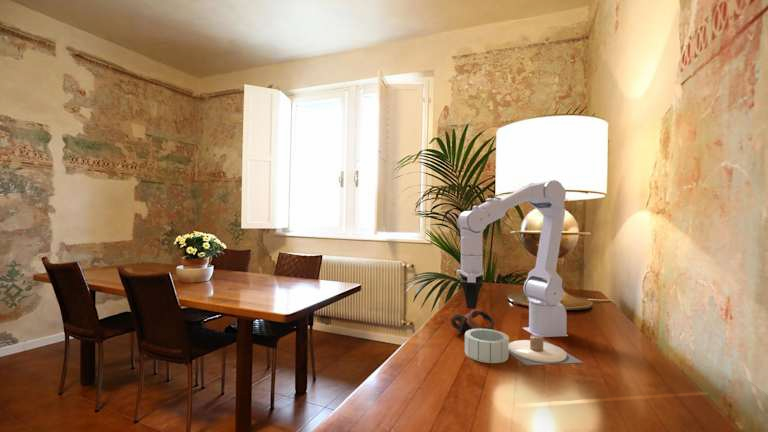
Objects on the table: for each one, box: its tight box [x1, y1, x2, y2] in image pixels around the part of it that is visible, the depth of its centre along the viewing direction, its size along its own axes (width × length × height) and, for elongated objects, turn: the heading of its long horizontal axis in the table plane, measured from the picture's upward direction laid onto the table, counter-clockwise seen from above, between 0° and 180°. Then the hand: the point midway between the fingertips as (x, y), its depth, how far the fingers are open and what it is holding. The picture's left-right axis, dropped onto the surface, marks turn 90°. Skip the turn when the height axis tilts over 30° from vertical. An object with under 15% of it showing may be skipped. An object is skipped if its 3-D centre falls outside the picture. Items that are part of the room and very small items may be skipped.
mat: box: [509, 340, 584, 366], centre depth 83 cm, size 14×14×1 cm
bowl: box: [464, 327, 510, 364], centre depth 82 cm, size 10×10×5 cm
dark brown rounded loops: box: [449, 309, 495, 334], centre depth 96 cm, size 12×10×8 cm
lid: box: [509, 334, 568, 363], centre depth 83 cm, size 13×13×4 cm
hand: (471, 304), depth 92 cm, fingers open, 7 cm apart
